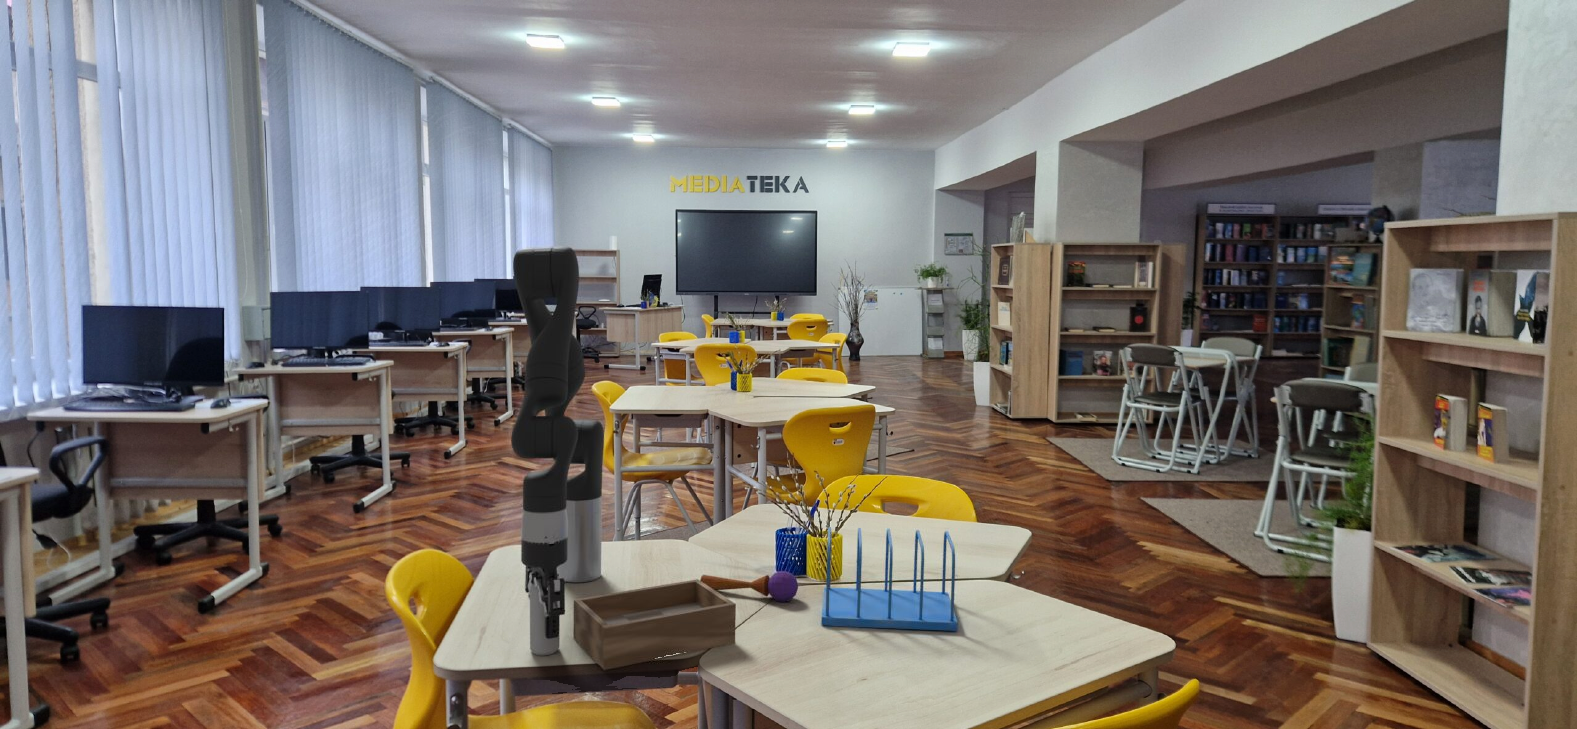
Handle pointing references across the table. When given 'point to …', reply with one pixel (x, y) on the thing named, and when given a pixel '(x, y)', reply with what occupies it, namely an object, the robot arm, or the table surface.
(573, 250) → the robot arm
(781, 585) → the purple maraca
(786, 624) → the table surface
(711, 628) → the box
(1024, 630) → the table surface
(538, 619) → the beverage can
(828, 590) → the file sorter
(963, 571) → the table surface
